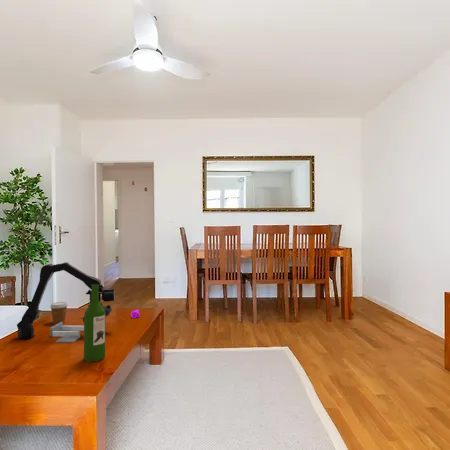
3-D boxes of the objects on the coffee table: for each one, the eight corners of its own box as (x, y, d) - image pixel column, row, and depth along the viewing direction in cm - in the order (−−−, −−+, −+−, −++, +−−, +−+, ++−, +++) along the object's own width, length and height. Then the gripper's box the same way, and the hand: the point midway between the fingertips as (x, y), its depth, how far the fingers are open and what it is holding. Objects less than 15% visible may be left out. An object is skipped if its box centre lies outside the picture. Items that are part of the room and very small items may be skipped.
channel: (50, 336, 182) (50, 328, 182) (60, 330, 193) (60, 322, 193) (78, 336, 182) (78, 328, 182) (87, 330, 193) (87, 322, 193)
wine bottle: (92, 363, 145) (93, 287, 146) (79, 359, 150) (79, 285, 151) (109, 356, 153) (110, 284, 153) (96, 353, 158) (97, 282, 158)
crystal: (130, 317, 223) (130, 309, 223) (139, 316, 225) (139, 309, 225) (131, 318, 218) (131, 311, 218) (140, 318, 220) (140, 311, 220)
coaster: (55, 342, 172) (55, 341, 172) (63, 337, 181) (63, 335, 181) (73, 342, 172) (73, 341, 172) (80, 337, 181) (80, 335, 181)
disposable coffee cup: (46, 324, 205) (46, 304, 205) (59, 320, 214) (59, 301, 214) (58, 326, 201) (58, 305, 202) (71, 322, 210) (71, 302, 210)
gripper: (103, 305, 178) (103, 335, 178) (115, 298, 197) (115, 325, 197) (82, 305, 178) (82, 335, 178) (95, 298, 197) (95, 325, 197)
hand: (95, 330), depth 188 cm, fingers open, 6 cm apart
